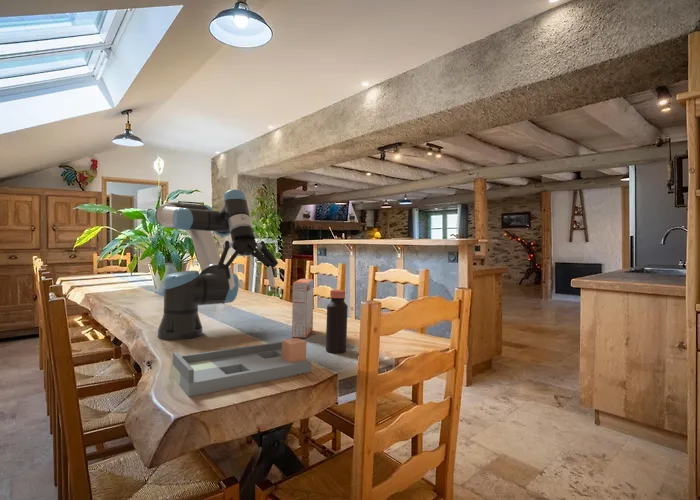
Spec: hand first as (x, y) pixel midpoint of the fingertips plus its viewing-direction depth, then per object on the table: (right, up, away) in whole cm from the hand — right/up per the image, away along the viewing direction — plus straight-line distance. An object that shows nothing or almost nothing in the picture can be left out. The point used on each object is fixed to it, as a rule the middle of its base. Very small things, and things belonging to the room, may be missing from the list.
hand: (253, 286), depth 125 cm
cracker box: (+13, -21, +25) cm, 35 cm away
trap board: (+3, -21, -22) cm, 31 cm away
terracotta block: (+16, -19, -17) cm, 30 cm away
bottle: (+27, -22, +3) cm, 35 cm away
